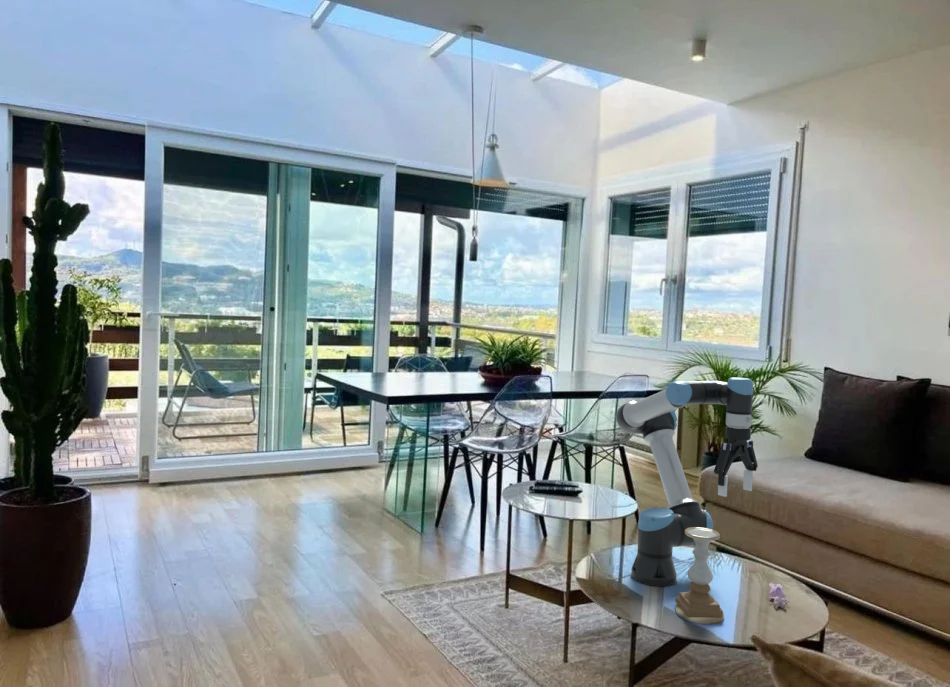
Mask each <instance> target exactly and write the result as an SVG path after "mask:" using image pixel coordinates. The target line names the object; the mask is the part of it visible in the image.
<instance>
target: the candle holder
mask: <svg viewBox="0 0 950 687" xmlns="http://www.w3.org/2000/svg"><path fill="white" fill-rule="evenodd" d="M685 534H686V535H687V536H688V537H691V538H693V540H694V542H695V544H696V545H695V547H694V549H693V550H692V551H691V552H692V555H693V556H694V558H695V559H694V561H693V564H691V566H690V567H689V569H688V571H687V577H688V579H689V580H690V581H691V582H690V583H689V585H688V586H689V591H680V592H679V594H678V595H676V596H675V603H676V604H677V605H678V606H679V607H680V608H681V610H682V611H683V612H684V613H685V615H686V616H687V617H723V612H724V611H723V609H722V608H721V606H720V604H719V602H718V601H717V600H716V599H715V598H714V596H712V594H710V591H711V586H710V585H709V584H710V583H712V582H713V580H714V574H713V572H712V570H711V568H710V566H709V565H708V559H709V558H710V557H711V553H710V551H709V547H708V546H709V544H710V543H711V542H712V541H717V540H719V539H720V537H721V536H720V533H719V532H718V531H717V530H715V529H713V530H712V529H708V528H702V527H690V528H687V529H685Z"/></svg>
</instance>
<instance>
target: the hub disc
mask: <svg viewBox="0 0 950 687" xmlns="http://www.w3.org/2000/svg"><path fill="white" fill-rule="evenodd" d="M675 613H676V615H677V616H679V617H680V618H682V619H683V618H684V620H685V619H686V621H688V622H691V623H694V622H695V623H696V624H698V625H699V624H700V625H701V624H702V625H716V624H720V623H722V622H723V621H724V619H725V612H724V611H723V617H687V616H686V615H685V613H684V612H683V611H682V610H681V608H680V607H679V606H678V605H677V603H676V604H675Z"/></svg>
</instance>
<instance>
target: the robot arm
mask: <svg viewBox="0 0 950 687" xmlns="http://www.w3.org/2000/svg"><path fill="white" fill-rule="evenodd" d="M753 396H754V381H753V380H752V379H751V378H748V377H747V378H746V377H738V376H737V377H735V376H734V377H733V376H732V377H729V378H728V379H727V382H726V381H721V380H717V379H707V380H704V381H703V380H699V381H698V380H696V381H695V380H692V381H691V380H690V381H689V380H688V381H687V380H677V381H671V382H670V383H668V386H666V388H665V389H663V390H661V391H658V392H657V393H653V394H652V395H649V396H648V397H644V398H642V399H640V400H638V401H635V400H632V401H628V402H626V403H624V404H622V405H621V406H619V408H618V409H617V412H616V414H615V419H616V423H617V425H618V427H619V428H620V429H621V430H622V431H624V432H626V433H628V434H633V435H635V434H636V435H639V434H640V435H642V438H643V441H644V442H645V443H647V444H649V445H650V449H651V453H652V456H653V459H654V461H655V466H656V468H657V471H658V475H659V477H660V481H661V483H662V487H663V490H664V493H665V497H666V500H667V503H668V506H667V507H658V506H657V507H649V508H645V509H643V510H642V511H641V512H640V513H639V515H638V522H637V527H638V528H637V530H638V531H637V550H636V551H637V552H636V556H635V558H634V560H633V564H632V566H631V569H630V570H631V572H630V575H632V576H631V578H632V577H633V578H634V579H633V578H632V579H633V580H635V579H636V580H637V582H638V581H640V582H639V583H641V582H642V583H641V584H644V583H645V585H648V586H649V585H650V586H654V587H667V586H672V585H675V583H677V575H678V574H677V571H676V570H677V569H676V567H675V563H674V560H673V548H675V547H676V548H677V547H686V546H696V544H695V542H694V540H693V538H691V537H688V536H687V535H686V534H685V529H687V528H690V527H702V528H708V529H712V530H714V525H713V524H714V523H713V519H712V516H711V514H710V513H709V512H708V511H707V510H706V509H704V508H703V509H702V508H701V506H700V503H699V501H698V500H695V499H694V498H693V495H692V493H691V490H690V487H689V484H688V481H687V478H686V475H685V471H684V469H683V466H682V462H681V460H680V458H679V454H678V451H677V448H676V444H675V442H674V435H675V433H676V432H675V430H676V428H677V426H678V423H677V421H678V418H677V414H676V412H675V410H678V409H681V408H683V407H686V406H689V405H722V406H726V410H725V411H726V412H725V414H726V415H725V425H726V426H725V434H724V437H725V438H726V439H727V442H726V443H725V442H721V445H720V450H719V451H720V452H719V454H718V457H717V460H716V463H715V466H714V469H713V473H714V474H715V475H718V477H717V478H718V479H717V495H718V496H721V497H724V498H726V497H728V484H729V482H728V480H729V479H728V478H729V475H727V474H728V472H729V470H730V468H731V466H732V464H733V463H734V460H736V459H737V458H738V457H739V458H740V460H741V461H742V464H743V466H744V468H745V469H743V478H742V479H743V481H742V490H745V491H748V492H752V491H753V475H754V472H756V471H757V469H758V462H757V461H758V460H757V458H756V453H755V449H754V441H753V440H751V438H752V437H751V435H752V434H751V433H752V430H751V428H750V427H751V426H752V420H753V419H752V413H753V399H754V398H753ZM753 471H754V472H753ZM636 580H635V581H636Z"/></svg>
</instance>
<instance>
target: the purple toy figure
mask: <svg viewBox="0 0 950 687" xmlns="http://www.w3.org/2000/svg"><path fill="white" fill-rule="evenodd" d="M768 588H769V590H770V591H769V592H768V596H769V597H767V599H768V600H773V606H774V609H775V610H778V608H781V609H782V611H783V610H784V611H787V608H786V606H787V604H786V602H787V603H790V600H789V599H786V594H785V592H784V587H783V585H782V584H780V583H777V584H774V583H771V582H770V583H769V584H768Z"/></svg>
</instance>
